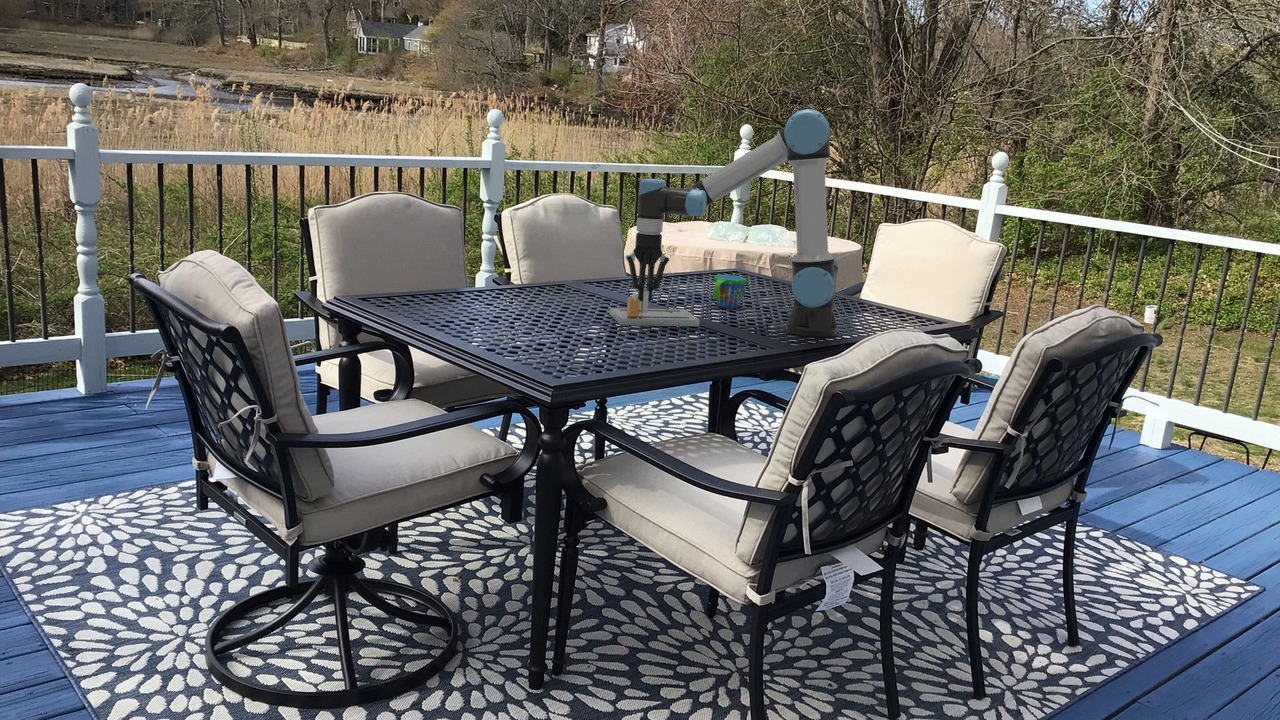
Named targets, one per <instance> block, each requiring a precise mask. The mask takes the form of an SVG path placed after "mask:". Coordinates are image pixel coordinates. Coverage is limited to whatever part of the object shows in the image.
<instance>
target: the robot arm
mask: <svg viewBox="0 0 1280 720" xmlns="http://www.w3.org/2000/svg"><path fill="white" fill-rule="evenodd" d="M830 137H831V124H830V122H829V120H828V119H827V117H826V116H825V115H824V114H823V113H822V112H820V111H818V110H816V109H813V108H812V109H811V108H807V109H801V110H797V111H796V112H795V113H793V114H792V115H791V116H790V117H789V118H788V119H787V121H786V124H785V126H784V127H782V128H781V129H780V130H778V131H777V133H776V136H774V137H773V138H771V139H769V140H767V141H765V142H764V143H763V144H761V145H759V146H758V147H756V148H753V149H752V150H751V151H748V152H747V153H745V154H743V155H741V156H740V157H738V158H736V159H735V160H733V161H731V162H730V163H728V164H726V165H725V166H723V167H721V168H720V169H718V170H716V171H714V172H712V173H711V174H709V175H708V176H705V177H704V178H702V179H701V180H699V181H697V182H695V183H693V184H692V185H691V186H690V185H689V187H686V188H685V187H684V188H681V187H670V186H667V185H666V180H664V179H659V178H658V179H657V178H643V179H641V180H640V182H639V188H638V190H639V191H638V197H637V198H638V200H637V202H638V203H637V204H638V205H637V219H636V231H637V233H636V236H635V247H634V249H633V252H632V253H630V254H627V255H626V256H625V259H626V261H627V262H628V266H629V273H630V277H631V284H632V287H633V288H635V289H636V290H637V291H639V292H638V299H639V300H640V301H641V312H642V313H647V312H648V309H649V302H652V298H653V291H655V290H658V289H659V288H660V284H661V281H662V277H663V275H664V271H665V268H666V265H667V264H668V262H670V258H669V257H668V256H667V255H664V254H663V250H662V239H663V235H662V234H661V233H662V232H663V225H664V214H670V215H678V216H679V215H680V216H690V217H702V216H703V215H705V212H706V208H707V207H708V206H709V205H712V204H713V203H714V202H716V201H718V200H719V199H722V198H723V197H725V196H726V195H728V194H731V193H733V191H736V190H737V189H740V187H742V186H745V185H746V184H748V183H749V182H751V181H753V180H755V179H757V178H758V177H760V176H762V175H764V174H766V173H767V172H770V171H771V170H773V169H774V168H776V167H778V166H779V165H782V164H783V163H785V162H788V164H789V165H791V167H792V168H793V190H794V207H795V208H794V209H795V210H794V211H795V212H794V214H795V230H796V231H795V232H796V233H795V235H796V254H795V256H794V257H793V258H792V259H791V266H792V267H791V268H792V269H791V270H792V281H791V286H790V287H791V293H792V295H793V297H794V303H793V307H792V309H791V311H790V314H789V316H788V318H787V321H786V323H785V331H786V332H788V333H789V334H792V335H795V336H796V335H797V336H800V337H809V338H819V339H820V338H821V339H823V338H824V339H825V338H833V337H836V336H837V332H838V325H837V321H836V316H835V312H834V305H835V296H836V287H837V278H838V270H839V260H838V259H837V258H835V257H834V256H833V255H832V254H831V253H830V252H829V245H828V243H829V241H828V216H827V213H828V212H827V193H826V191H827V190H826V164H827V162H828V161H829V160H830V159H831V150H830V149H831V148H830V144H831V143H830ZM635 260H637V261H638V263H639V270H638V271H639V273H638V274H639V275H638V277H637V270H636V264H635ZM658 260H659V261H660V262H659V265H658V268H657V269H656V270H657V271H656V274H655V268H656V263H657V262H658ZM646 268H647V276H646ZM654 274H655V277H654ZM646 277H647V278H646ZM646 279H647V280H646ZM645 281H647V282H645ZM645 283H646V285H645ZM645 286H646V289H645Z"/></svg>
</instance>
